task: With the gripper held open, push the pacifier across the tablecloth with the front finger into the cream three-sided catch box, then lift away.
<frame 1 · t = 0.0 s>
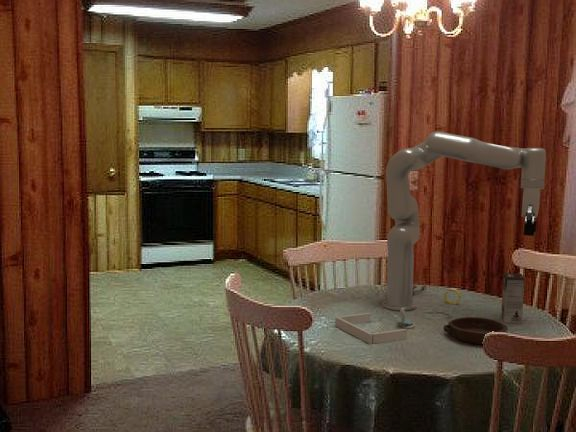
hand: (529, 233, 226), 31 cm above the table, tool pointing down, fingers open, 9 cm apart
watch: (452, 304, 254), on the table
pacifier: (406, 327, 223), on the table
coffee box: (511, 320, 231), on the table
catch box: (370, 331, 215), on the table
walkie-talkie: (409, 293, 272), on the table
dish: (477, 339, 209), on the table
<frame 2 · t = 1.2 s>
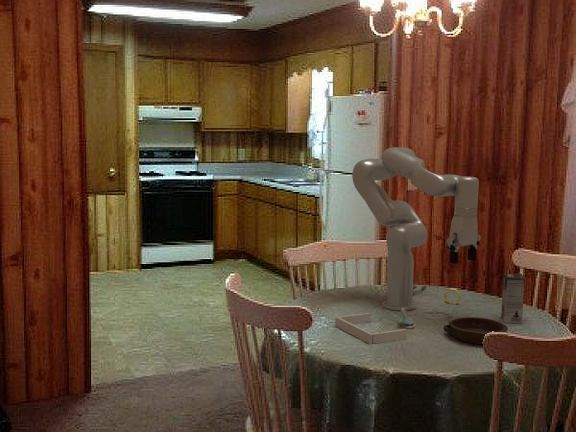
hand: (462, 261, 226), 21 cm above the table, tool pointing down, fingers open, 9 cm apart
nothing on the table moved.
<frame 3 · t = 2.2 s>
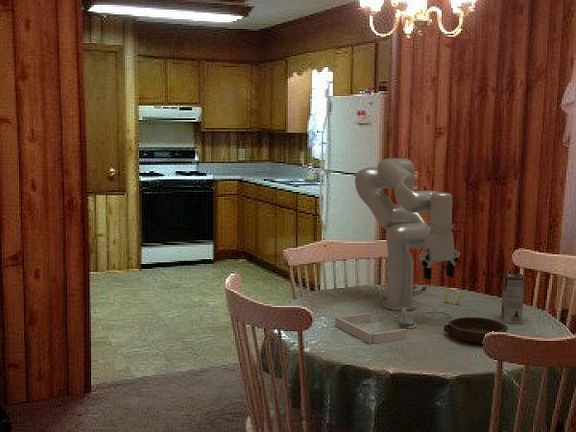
hand: (438, 277, 226), 16 cm above the table, tool pointing down, fingers open, 9 cm apart
nothing on the table moved.
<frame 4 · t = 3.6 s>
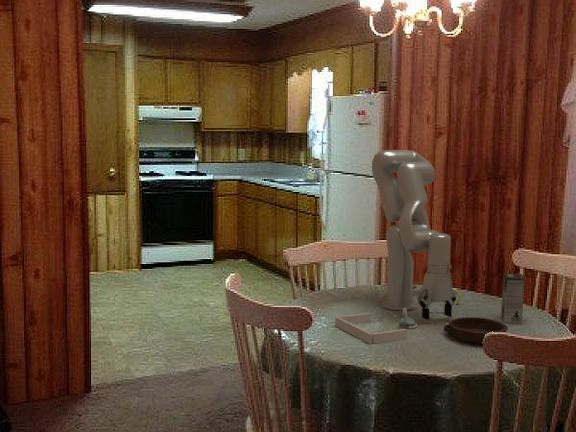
hand: (436, 317, 228), 2 cm above the table, tool pointing down, fingers open, 9 cm apart
nothing on the table moved.
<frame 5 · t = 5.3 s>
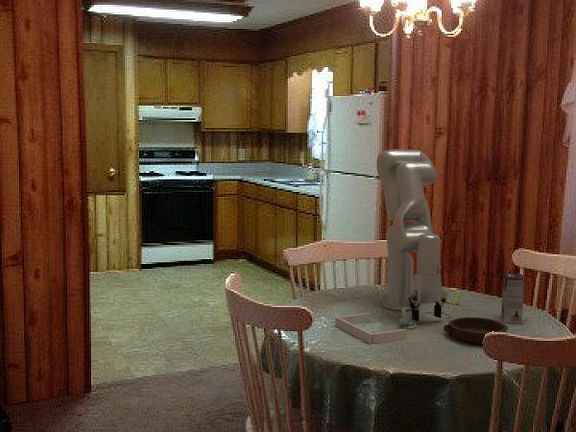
hand: (426, 318, 226), 2 cm above the table, tool pointing down, fingers open, 9 cm apart
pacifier: (407, 327, 222), on the table, touching gripper
everything else where it was.
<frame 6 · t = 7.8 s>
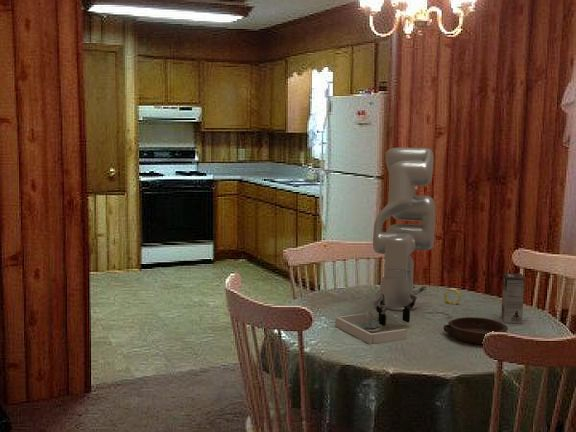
hand: (394, 323, 220), 2 cm above the table, tool pointing down, fingers open, 9 cm apart
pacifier: (371, 330, 218), on the table
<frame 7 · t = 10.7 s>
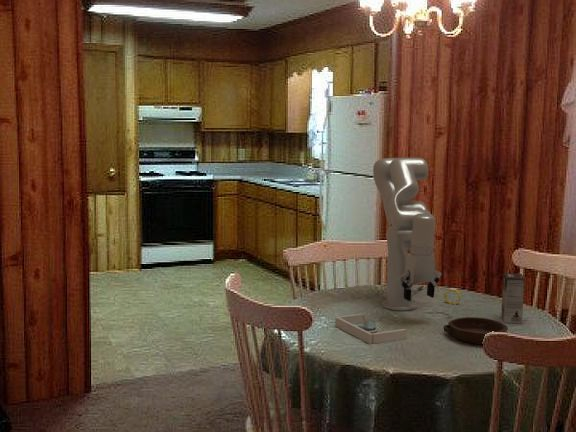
hand: (418, 298, 226), 9 cm above the table, tool pointing down, fingers open, 9 cm apart
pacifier: (368, 331, 217), on the table
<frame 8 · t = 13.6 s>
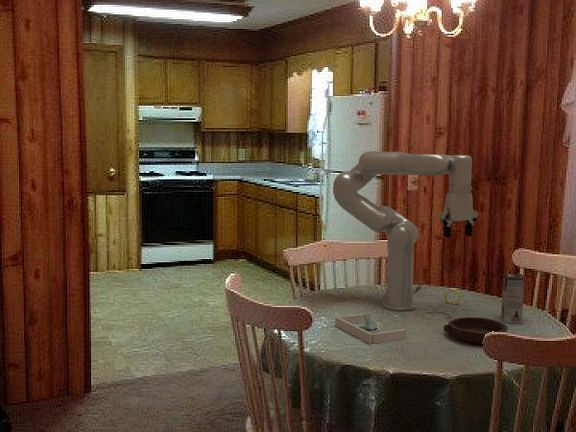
hand: (457, 236, 237), 28 cm above the table, tool pointing down, fingers open, 9 cm apart
at the end: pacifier inside the target area (1.8 cm from its centre), on the table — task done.
